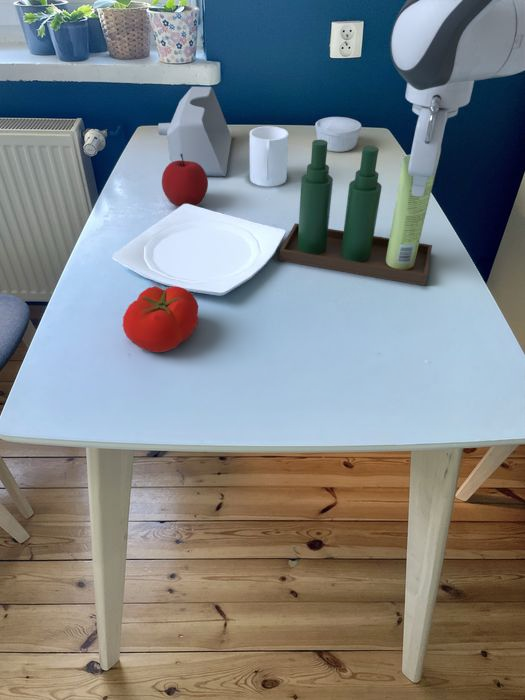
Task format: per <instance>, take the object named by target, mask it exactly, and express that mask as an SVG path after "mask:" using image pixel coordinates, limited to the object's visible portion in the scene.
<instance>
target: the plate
mask: <svg viewBox="0 0 525 700" xmlns="http://www.w3.org/2000/svg"><path fill="white" fill-rule="evenodd" d="M286 234H287V231H286V230H285V229H281V228H278V227H275V226H270V225H267V224H264V223H263V224H262V223H258V222H254V221H251V220H247V219H244V218H240V217H237V216H233V215H229V214H225V213H222V212H217V211H215V210H211V209H208V208H204V207H200V206H198V205H196V206H193V205H190V204H183V205H182V206H180V207H179V206H178V207H177V208H176V209H174V210H173V211H171V212H170V213H168V214H166V216H164V217H163V218H161V219H160V220H158V221H157V222H155V223H154V224H153V225H151V226H150V227H148V228H147V229H145V230H144V231H143V232H141V233H140V234H138V235H137V236H136V237H135V238H134V237H133V239H132V240H130V241H129V242H128V243H126V244H124V245H123V246H122V247H121V248H119V249H118V250H117V251H115V252H114V253H113V254H111V258H112V260H113V261H115V262H117V263H118V264H120V265H122V266H124V267H126V268H127V269H128V270H131V271H132V272H134V273H136V274H138V275H140V276H142V277H143V278H145V279H147V280H148V279H149V280H150V281H153V282H156V283H158V284H161V285H164V286H168V287H172V286H177V287H181V288H184V289H186V290H187V291H188V292H190V293H192V292H193V293H198V294H206V295H211V296H224V295H227V294H228V293H229V292H231V291H233V290H234V289H236V288H238V287H239V286H241V285H243V284H244V283H246V282H247V281H249V280H251V279H252V278H253V277H254V276H255V275H256V274H258V272H259V271H260V270H262V268H264V266H265V265H266V264H267V263H269V261H270V260H271V259H272V258H273V257H274V255H275V254H276V252H277V250H278V248H279V247H280V245H281V243H282V241H283V239H284V238H285V236H286Z"/></svg>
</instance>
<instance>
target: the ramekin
mask: <svg viewBox="0 0 525 700" xmlns="http://www.w3.org/2000/svg"><path fill="white" fill-rule="evenodd" d="M314 126H315V127H314V128H315V130H316V140H325V141H327V143H328V145H327V152H328V151H329V152H335V153H340V152H341V153H342V152H348V151H352V149H354V148H355V147H356V145H357V143H358V139H359V136H360V133H361V131H362V123H361V122H359V121H358V120H356V119H353V118H350V117H343V116H329V117H324V118H321V119H318V120H317V121H316V122H315V124H314Z"/></svg>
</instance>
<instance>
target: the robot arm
mask: <svg viewBox="0 0 525 700" xmlns="http://www.w3.org/2000/svg"><path fill="white" fill-rule="evenodd" d="M389 52H390V57H391V61H392V63H393V66H394V68H395V70H396V71H397V72H398V74H399V75H400V76H401V77H402V79H403V80H405V82H406V89H405V96H404V97H405V99H406V101H408V102H409V103H411V104H412V108H411V111H412V112H413V113H414V114H416V115H417V116H418V118H417V121H416V126H415V130H414V136H413V141H412V146H411V150H410V151H411V152H410V155H411V156H410V161H409V167H408V172H409V174H410V175H413V187H412V195H413V196H418V197H422V196H423V195H424V191H425V186H426V183H427V180H428V177H433V176H434V174H435V175H436V173H435V171H436V172H437V169H436V167H437V168H438V165H437V162H438V163H439V161H438V157H439V153H440V148H441V149H442V143H443V138H444V133H445V129H446V128H445V127H446V124H447V122H448V119H451V118H453V117H455V116H457V115H458V113H459V108H462V107H465V106H467V105H468V104H469V103H470V101H471V97H472V92H473V88H474V85H475V84H474V83H475V82H476V81H481V80H482V81H484V80H488V79H496V78H503V77H508V76H509V77H510V76H513V75H517V74H519V73H523V72H525V0H406V1H405V3H404V4H403V6H402V7H401V9H400V10H399V12H398V13H397V15H396V18H395V20H394V23H393V25H392V29H391V32H390V39H389ZM440 154H441V153H440ZM439 158H440V157H439Z"/></svg>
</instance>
